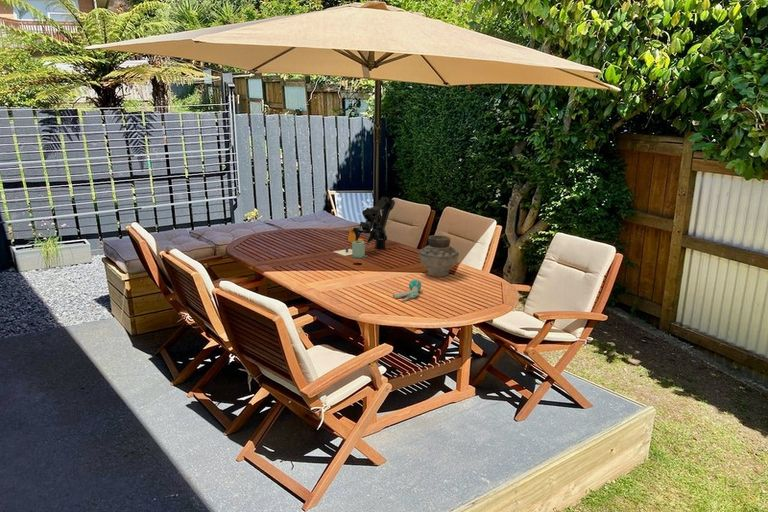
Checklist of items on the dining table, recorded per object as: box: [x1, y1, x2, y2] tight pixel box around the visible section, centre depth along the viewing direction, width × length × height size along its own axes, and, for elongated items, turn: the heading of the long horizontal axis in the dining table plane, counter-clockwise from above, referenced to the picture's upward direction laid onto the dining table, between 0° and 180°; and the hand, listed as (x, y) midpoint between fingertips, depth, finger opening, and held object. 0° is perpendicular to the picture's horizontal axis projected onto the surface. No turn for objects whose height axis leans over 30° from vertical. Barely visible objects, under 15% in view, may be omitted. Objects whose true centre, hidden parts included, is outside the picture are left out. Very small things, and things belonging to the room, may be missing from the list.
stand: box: [349, 254, 369, 260], centre depth 407 cm, size 10×10×5 cm
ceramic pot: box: [418, 234, 460, 278], centre depth 370 cm, size 25×25×24 cm
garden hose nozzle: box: [392, 278, 422, 302], centre depth 331 cm, size 7×18×20 cm
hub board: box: [332, 246, 352, 256], centre depth 418 cm, size 14×14×5 cm
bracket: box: [347, 226, 364, 243], centre depth 452 cm, size 11×7×12 cm, turn 38°
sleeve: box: [351, 240, 366, 259], centre depth 406 cm, size 6×6×10 cm
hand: (361, 242), depth 409 cm, fingers open, 9 cm apart
